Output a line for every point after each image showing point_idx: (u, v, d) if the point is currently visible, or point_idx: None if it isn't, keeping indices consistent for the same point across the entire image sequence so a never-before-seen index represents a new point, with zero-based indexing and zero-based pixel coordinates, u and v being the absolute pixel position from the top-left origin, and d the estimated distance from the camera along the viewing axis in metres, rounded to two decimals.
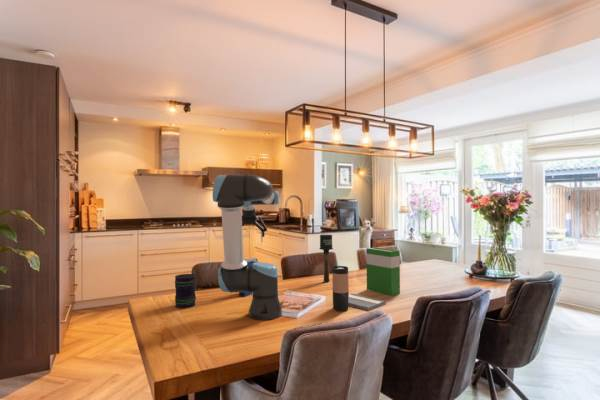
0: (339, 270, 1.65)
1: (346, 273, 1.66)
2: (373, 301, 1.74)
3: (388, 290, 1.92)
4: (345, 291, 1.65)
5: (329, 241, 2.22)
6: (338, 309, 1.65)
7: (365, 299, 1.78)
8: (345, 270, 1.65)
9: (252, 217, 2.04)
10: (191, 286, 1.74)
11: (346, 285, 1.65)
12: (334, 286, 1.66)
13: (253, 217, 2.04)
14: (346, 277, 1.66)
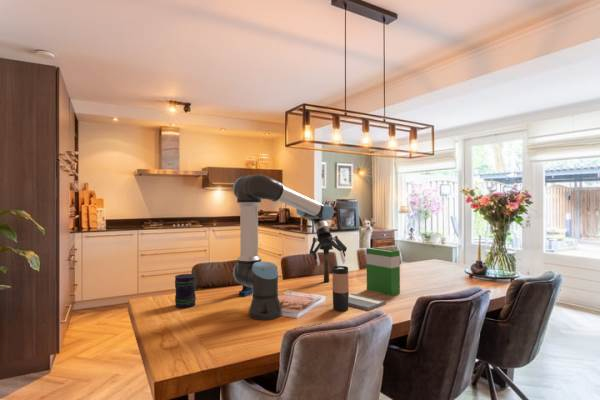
0: (339, 270, 1.65)
1: (346, 273, 1.66)
2: (373, 301, 1.74)
3: (388, 290, 1.92)
4: (345, 291, 1.65)
5: None
6: (338, 309, 1.65)
7: (365, 299, 1.78)
8: (345, 270, 1.65)
9: (329, 237, 1.91)
10: (191, 286, 1.74)
11: (346, 285, 1.65)
12: (334, 286, 1.66)
13: (329, 236, 1.91)
14: (346, 277, 1.66)
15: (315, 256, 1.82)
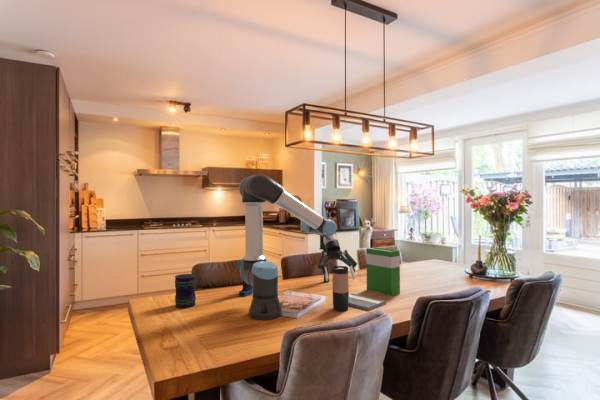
0: (339, 270, 1.65)
1: (346, 273, 1.66)
2: (373, 301, 1.74)
3: (388, 290, 1.92)
4: (345, 291, 1.65)
5: None
6: (338, 309, 1.65)
7: (365, 299, 1.78)
8: (345, 270, 1.65)
9: (338, 251, 1.83)
10: (191, 286, 1.74)
11: (346, 285, 1.65)
12: (334, 286, 1.66)
13: (339, 250, 1.83)
14: (346, 277, 1.66)
15: (324, 271, 1.73)
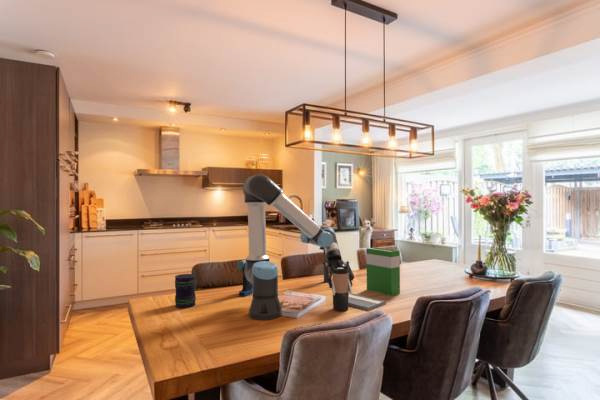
0: (339, 270, 1.65)
1: (346, 273, 1.66)
2: (373, 301, 1.74)
3: (388, 290, 1.92)
4: (345, 291, 1.65)
5: None
6: (338, 309, 1.65)
7: (365, 299, 1.78)
8: (345, 270, 1.65)
9: (339, 260, 1.77)
10: (191, 286, 1.74)
11: (346, 285, 1.65)
12: (334, 286, 1.66)
13: (340, 260, 1.77)
14: (346, 277, 1.66)
15: (330, 284, 1.67)
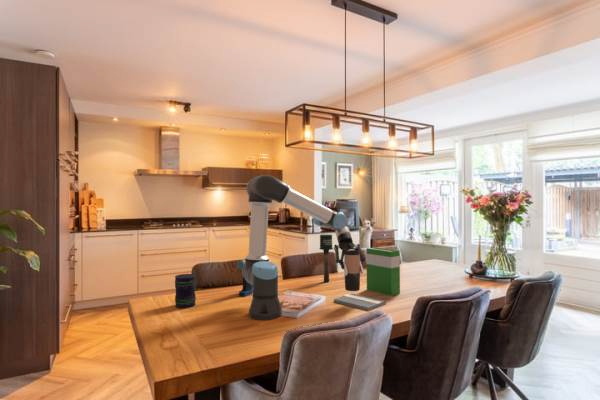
0: (351, 251, 1.70)
1: (358, 254, 1.71)
2: (373, 301, 1.74)
3: (388, 290, 1.92)
4: (357, 272, 1.71)
5: (329, 241, 2.22)
6: (350, 289, 1.71)
7: (365, 299, 1.78)
8: (357, 251, 1.71)
9: (351, 243, 1.82)
10: (191, 286, 1.74)
11: (358, 266, 1.71)
12: (346, 267, 1.72)
13: (351, 243, 1.83)
14: (358, 258, 1.71)
15: (342, 265, 1.72)
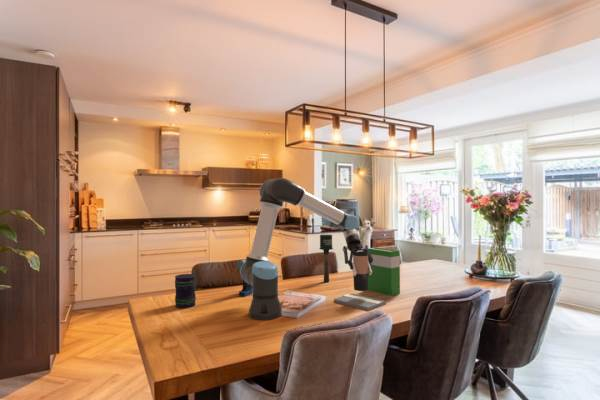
0: (360, 252, 1.76)
1: (366, 255, 1.77)
2: (373, 301, 1.74)
3: (388, 290, 1.92)
4: (365, 272, 1.77)
5: (329, 241, 2.22)
6: (359, 289, 1.77)
7: (365, 299, 1.78)
8: (365, 252, 1.77)
9: (359, 244, 1.88)
10: (191, 286, 1.74)
11: (366, 266, 1.77)
12: (355, 267, 1.78)
13: (359, 244, 1.89)
14: (366, 259, 1.77)
15: (351, 266, 1.78)
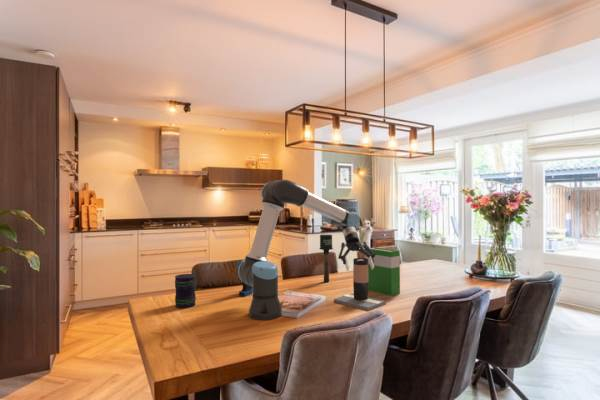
0: (360, 261, 1.77)
1: (366, 264, 1.78)
2: (373, 301, 1.74)
3: (388, 290, 1.92)
4: (365, 281, 1.77)
5: (329, 241, 2.22)
6: (359, 298, 1.77)
7: None
8: (365, 261, 1.77)
9: (357, 242, 1.93)
10: (191, 286, 1.74)
11: (366, 275, 1.77)
12: (355, 276, 1.78)
13: (358, 242, 1.93)
14: (366, 268, 1.77)
15: (344, 261, 1.83)
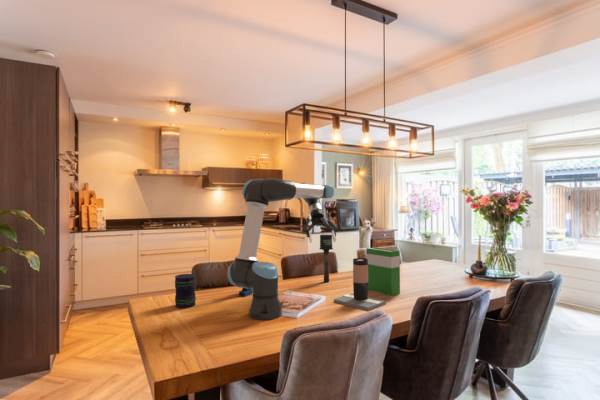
0: (360, 262, 1.76)
1: (366, 264, 1.77)
2: (373, 301, 1.74)
3: (388, 290, 1.92)
4: (365, 281, 1.77)
5: (329, 241, 2.22)
6: (359, 298, 1.77)
7: None
8: (365, 262, 1.77)
9: (322, 218, 2.05)
10: (191, 286, 1.74)
11: (366, 276, 1.77)
12: (355, 277, 1.78)
13: (322, 218, 2.05)
14: (366, 268, 1.77)
15: (308, 234, 1.96)
